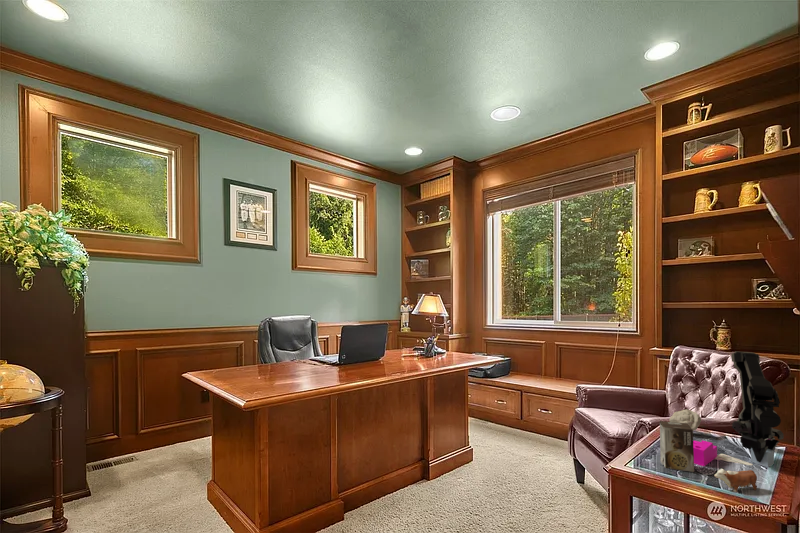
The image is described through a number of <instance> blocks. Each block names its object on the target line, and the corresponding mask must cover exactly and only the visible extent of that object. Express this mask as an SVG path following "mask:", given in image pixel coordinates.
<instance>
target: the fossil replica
mask: <svg viewBox="0 0 800 533" xmlns="http://www.w3.org/2000/svg"><path fill="white" fill-rule="evenodd" d="M668 421H669V422H678V423H687V424H688V425H689V426H690V427H691V428H692V429H693V432H694V431H696V430H698V427H699V426H700V424H701V421H702V418H701V415H699V413H697V411H693V410H691V409H687V408H686V409H683V410H679V411H678V410H677V411H675V412H673V413H672V415H671V416H670V417H669V420H668Z"/></svg>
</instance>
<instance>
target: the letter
mask: <svg viewBox="0 0 800 533" xmlns="http://www.w3.org/2000/svg"><path fill="white" fill-rule="evenodd" d="M714 460H717V461H719V460H720V461H724V462H730V463H734V464H739V465H745V466H754V464H753V463H752V462H748V461H746V460H743V459H742V460H741V459H739V458H737V457H733V456H730V455H727V454H724V453H720V454H717V457H716V458H715V459H714Z"/></svg>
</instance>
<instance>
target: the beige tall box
mask: <svg viewBox="0 0 800 533" xmlns="http://www.w3.org/2000/svg"><path fill="white" fill-rule="evenodd" d="M659 438H660V439H659V444H660V445H659V449H660V451H659V452H660V463H661V465H662V466H663V465H664V466H663V467H664V468H665V469H669V468H670V469H669V470H671V469H672V470H677V471H685V472H692V473H693V472H695V464H694V450H693V441H694V431H693V429H692V428H691V427H690V426H689V425H688V424H687V423H678V422H670V421H666V420H665V421H664V420H659Z"/></svg>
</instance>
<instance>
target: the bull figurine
mask: <svg viewBox="0 0 800 533" xmlns="http://www.w3.org/2000/svg"><path fill="white" fill-rule="evenodd" d="M714 477H715V479H716V478H717V479H720V480H721V481H723V483H725V484H726V485H727V486H728V488H729V489H733V492H735V493H737V492H738V490H739V487H740V488H746V487H747V488H749V487H752V488H753V489H752V490H753V491H757V488H758V485H757V480H758V477H757V474H756V473H755V471H754V470H751V469H750V470H740V471H733V470H725V469H723V468H720V469H718V470H717V472H716V473H715V474H714Z"/></svg>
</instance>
